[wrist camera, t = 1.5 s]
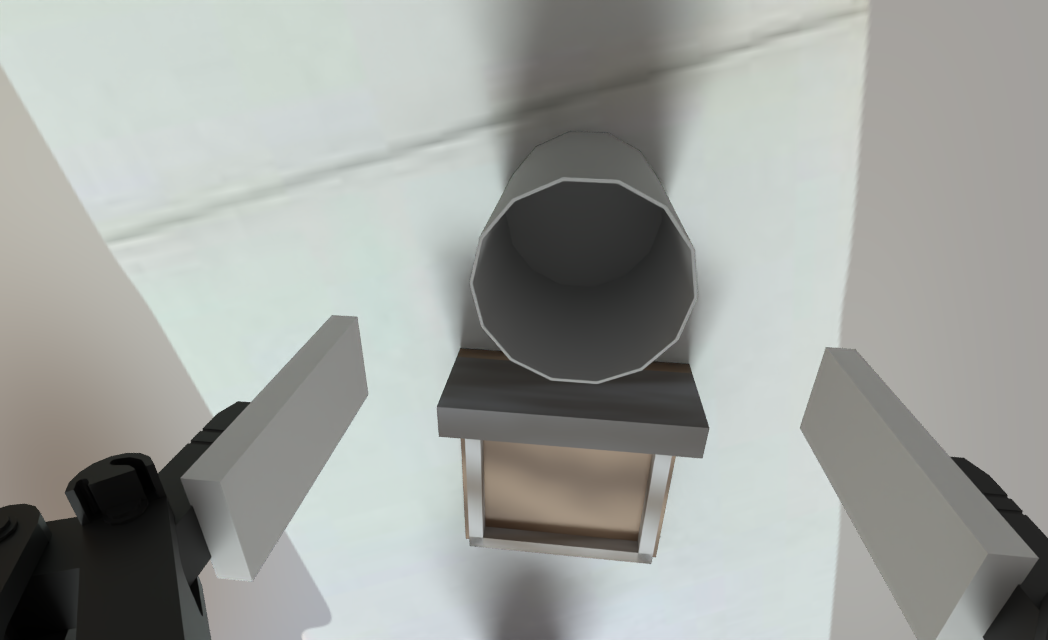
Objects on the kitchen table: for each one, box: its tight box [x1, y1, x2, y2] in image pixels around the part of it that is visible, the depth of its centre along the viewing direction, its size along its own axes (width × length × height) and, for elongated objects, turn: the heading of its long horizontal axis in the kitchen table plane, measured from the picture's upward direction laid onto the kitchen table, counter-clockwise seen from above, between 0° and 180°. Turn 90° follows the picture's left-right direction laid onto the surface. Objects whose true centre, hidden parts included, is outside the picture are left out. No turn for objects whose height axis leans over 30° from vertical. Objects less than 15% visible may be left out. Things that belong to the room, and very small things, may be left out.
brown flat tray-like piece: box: [437, 348, 709, 564], centre depth 34 cm, size 16×14×6 cm
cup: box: [469, 131, 698, 384], centre depth 24 cm, size 8×8×10 cm
